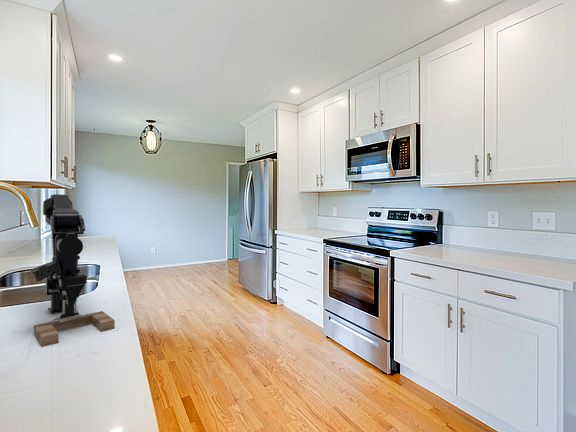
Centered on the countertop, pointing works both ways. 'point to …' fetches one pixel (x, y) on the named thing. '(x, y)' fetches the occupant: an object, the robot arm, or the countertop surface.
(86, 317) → the notched board
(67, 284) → the robot arm
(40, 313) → the countertop surface
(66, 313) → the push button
